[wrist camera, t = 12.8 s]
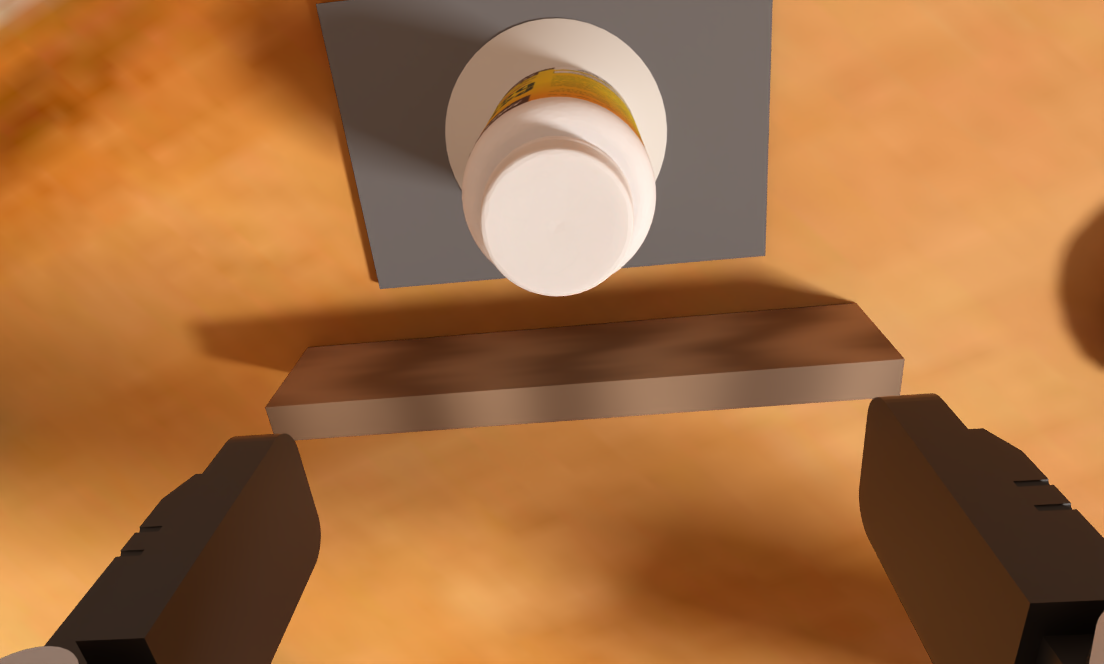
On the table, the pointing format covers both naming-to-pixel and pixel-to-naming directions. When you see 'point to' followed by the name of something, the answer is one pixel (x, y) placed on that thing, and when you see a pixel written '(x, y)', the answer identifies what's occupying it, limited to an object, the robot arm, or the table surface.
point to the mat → (514, 53)
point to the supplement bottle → (559, 183)
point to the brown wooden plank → (588, 372)
